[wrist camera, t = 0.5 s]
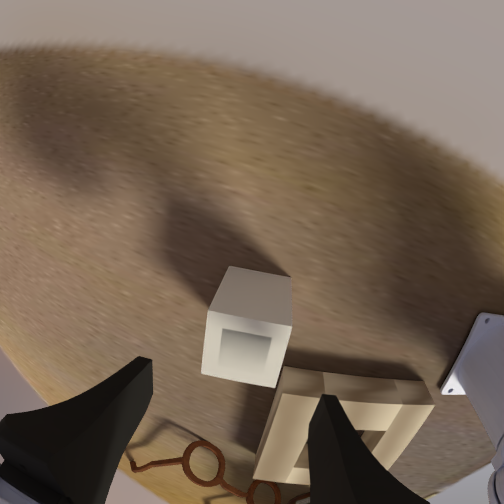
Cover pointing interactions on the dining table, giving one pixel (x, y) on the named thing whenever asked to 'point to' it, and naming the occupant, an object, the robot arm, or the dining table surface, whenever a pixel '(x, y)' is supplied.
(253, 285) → the connector plug
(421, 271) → the dining table surface
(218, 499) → the dining table surface
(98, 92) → the dining table surface
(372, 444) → the holder
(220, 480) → the glasses
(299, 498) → the food container
